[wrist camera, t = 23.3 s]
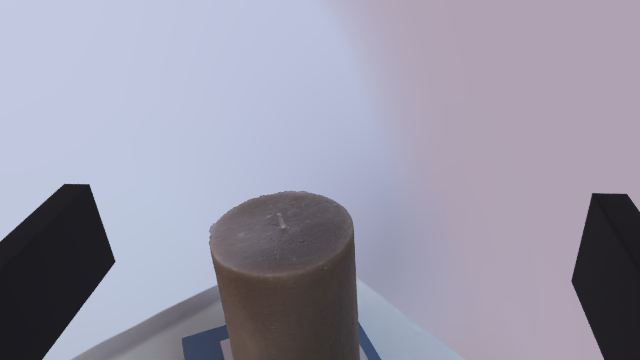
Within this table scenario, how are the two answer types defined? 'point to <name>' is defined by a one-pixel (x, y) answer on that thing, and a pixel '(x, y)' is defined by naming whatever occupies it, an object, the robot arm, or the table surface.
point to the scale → (215, 351)
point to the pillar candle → (288, 278)
